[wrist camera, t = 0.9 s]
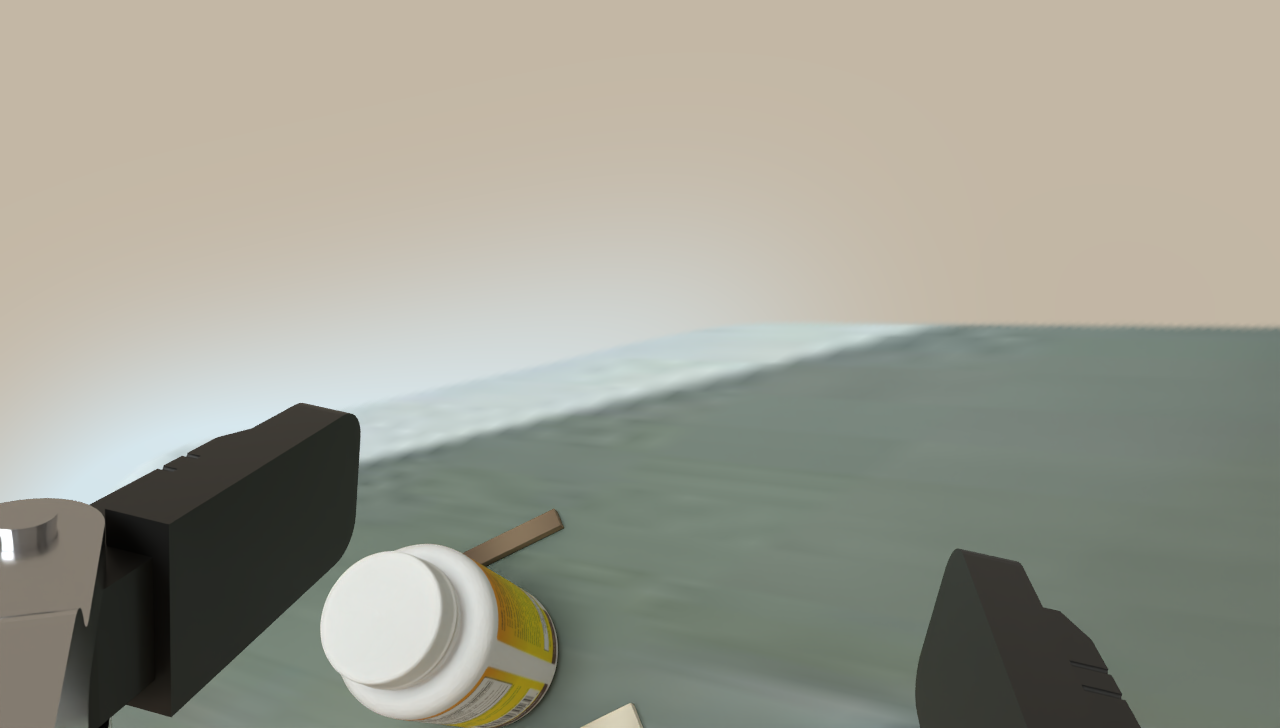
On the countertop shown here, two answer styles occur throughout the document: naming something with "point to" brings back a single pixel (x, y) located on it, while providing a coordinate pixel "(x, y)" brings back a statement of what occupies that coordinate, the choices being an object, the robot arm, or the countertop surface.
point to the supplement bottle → (438, 639)
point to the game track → (618, 724)
